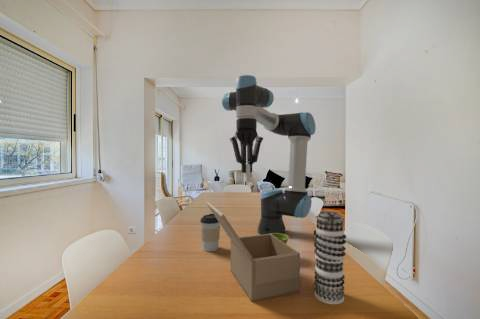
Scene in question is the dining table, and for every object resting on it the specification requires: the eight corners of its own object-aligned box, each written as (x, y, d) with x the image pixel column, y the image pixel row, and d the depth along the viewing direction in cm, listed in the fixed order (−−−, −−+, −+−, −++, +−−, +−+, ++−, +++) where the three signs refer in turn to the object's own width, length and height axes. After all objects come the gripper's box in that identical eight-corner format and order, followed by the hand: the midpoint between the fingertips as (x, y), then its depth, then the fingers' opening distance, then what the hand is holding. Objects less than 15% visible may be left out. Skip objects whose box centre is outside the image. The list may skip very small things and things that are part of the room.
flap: (208, 201, 88) (205, 203, 88) (223, 214, 69) (220, 216, 69) (231, 236, 91) (229, 238, 91) (252, 257, 73) (250, 259, 72)
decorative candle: (328, 308, 69) (329, 218, 69) (306, 291, 78) (307, 211, 77) (352, 301, 73) (353, 215, 73) (329, 285, 82) (330, 208, 81)
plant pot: (261, 254, 107) (261, 234, 107) (280, 251, 110) (280, 231, 110) (273, 263, 98) (273, 241, 98) (293, 259, 102) (293, 238, 102)
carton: (269, 264, 97) (270, 233, 97) (300, 292, 77) (300, 253, 77) (230, 270, 92) (230, 237, 92) (252, 302, 72) (252, 260, 72)
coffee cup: (217, 253, 108) (217, 218, 108) (197, 251, 110) (197, 217, 109) (222, 245, 117) (222, 213, 117) (204, 244, 119) (204, 212, 118)
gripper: (257, 120, 100) (258, 179, 101) (226, 119, 95) (227, 181, 96) (266, 118, 93) (266, 181, 94) (233, 116, 88) (234, 183, 89)
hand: (246, 181), depth 95 cm, fingers closed
